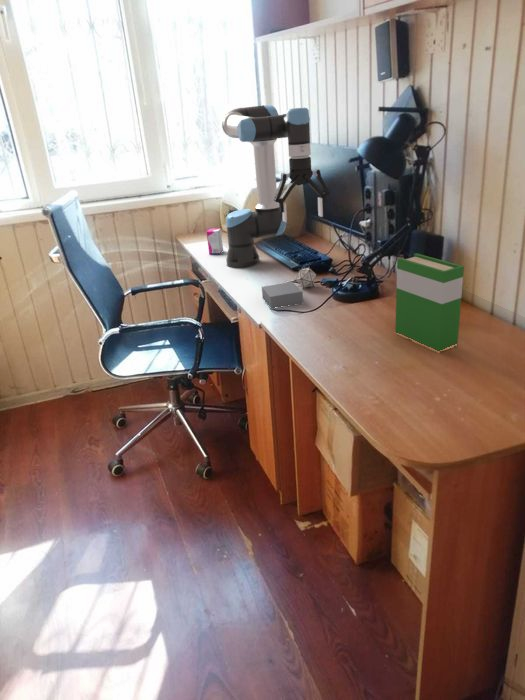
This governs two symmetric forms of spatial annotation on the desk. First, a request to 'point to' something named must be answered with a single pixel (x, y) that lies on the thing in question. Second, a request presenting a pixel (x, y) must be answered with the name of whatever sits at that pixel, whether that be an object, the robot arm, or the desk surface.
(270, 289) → the base block
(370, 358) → the desk surface
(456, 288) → the hardback book
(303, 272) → the game die
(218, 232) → the supplement box
